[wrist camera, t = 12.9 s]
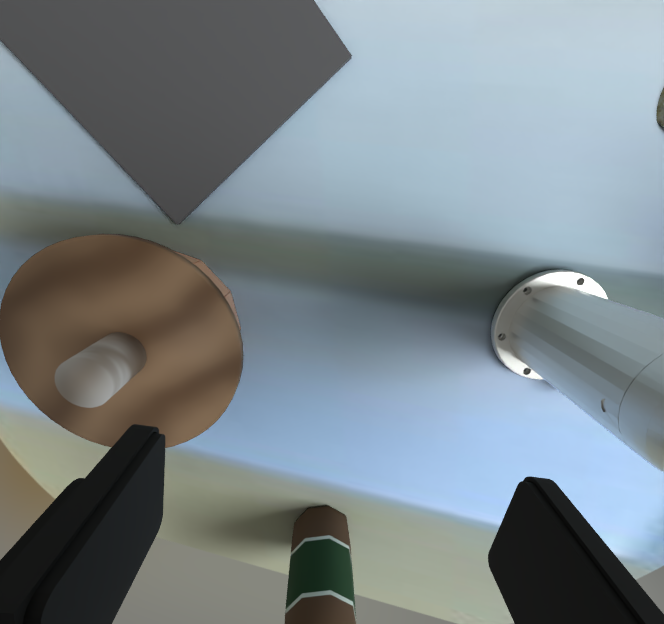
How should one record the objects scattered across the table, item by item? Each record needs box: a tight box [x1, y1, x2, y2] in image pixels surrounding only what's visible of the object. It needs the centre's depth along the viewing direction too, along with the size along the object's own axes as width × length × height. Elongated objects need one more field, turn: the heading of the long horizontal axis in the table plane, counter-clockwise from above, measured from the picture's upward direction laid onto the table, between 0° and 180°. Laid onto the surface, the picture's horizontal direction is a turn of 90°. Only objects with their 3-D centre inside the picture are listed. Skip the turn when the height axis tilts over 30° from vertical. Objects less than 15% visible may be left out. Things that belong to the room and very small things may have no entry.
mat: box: [0, 0, 352, 224], centre depth 29 cm, size 22×22×1 cm
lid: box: [0, 234, 243, 448], centre depth 27 cm, size 20×20×6 cm
